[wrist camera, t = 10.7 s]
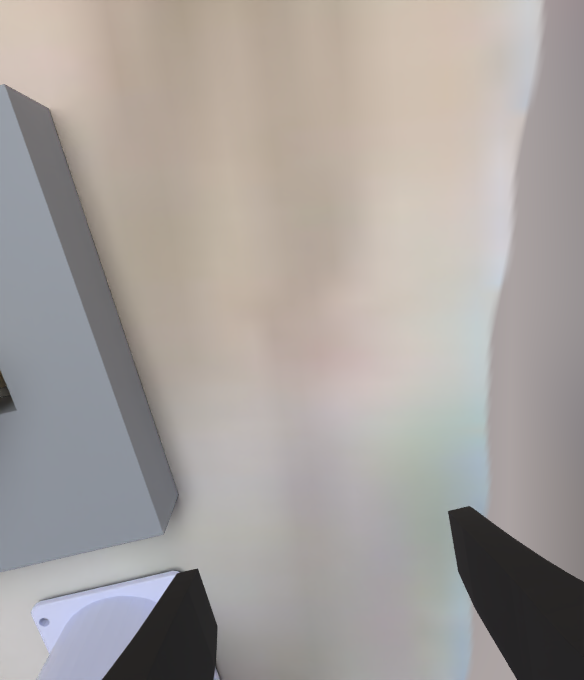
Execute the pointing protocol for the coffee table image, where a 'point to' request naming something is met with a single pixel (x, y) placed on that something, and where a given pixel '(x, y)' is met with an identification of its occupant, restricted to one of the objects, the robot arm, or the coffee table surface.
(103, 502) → the grey flat block
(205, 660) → the robot arm
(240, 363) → the coffee table surface
